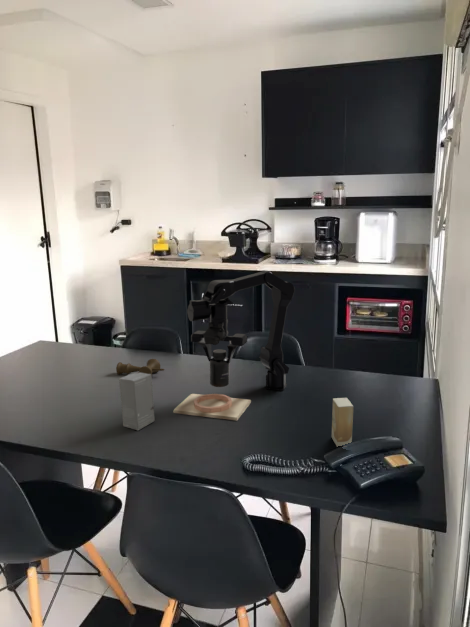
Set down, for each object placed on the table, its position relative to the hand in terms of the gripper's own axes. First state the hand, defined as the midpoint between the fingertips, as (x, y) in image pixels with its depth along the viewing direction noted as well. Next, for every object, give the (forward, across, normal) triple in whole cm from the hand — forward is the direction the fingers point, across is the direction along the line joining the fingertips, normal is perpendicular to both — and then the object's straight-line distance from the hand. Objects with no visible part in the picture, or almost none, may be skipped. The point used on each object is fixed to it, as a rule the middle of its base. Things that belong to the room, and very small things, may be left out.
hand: (219, 362), depth 174 cm
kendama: (+14, -39, +14) cm, 44 cm away
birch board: (+13, +1, -8) cm, 16 cm away
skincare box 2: (+13, +45, -20) cm, 51 cm away
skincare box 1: (+14, -17, -27) cm, 35 cm away
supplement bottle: (+8, 0, 0) cm, 8 cm away
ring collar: (+13, +1, -8) cm, 16 cm away
